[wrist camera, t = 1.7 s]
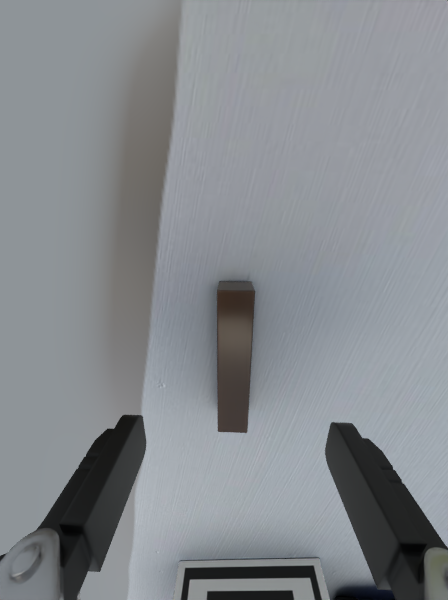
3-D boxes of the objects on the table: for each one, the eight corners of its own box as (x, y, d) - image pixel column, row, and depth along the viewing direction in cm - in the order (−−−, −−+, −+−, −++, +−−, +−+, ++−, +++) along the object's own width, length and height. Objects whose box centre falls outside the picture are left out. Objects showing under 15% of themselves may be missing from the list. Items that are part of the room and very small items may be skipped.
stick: (219, 408, 16) (217, 432, 15) (219, 281, 13) (216, 290, 11) (245, 409, 16) (247, 433, 15) (251, 281, 13) (255, 290, 11)
